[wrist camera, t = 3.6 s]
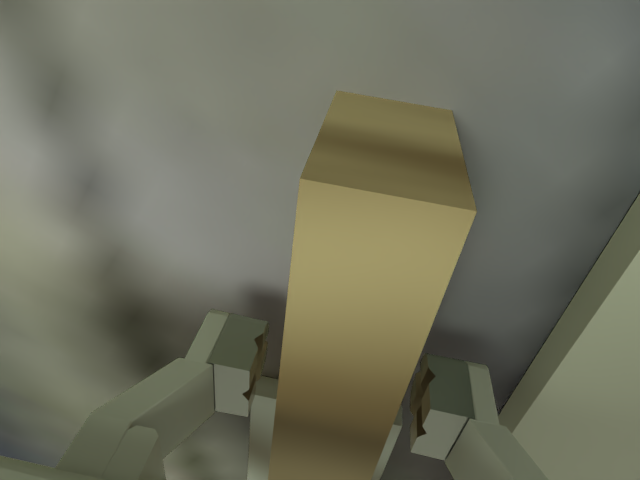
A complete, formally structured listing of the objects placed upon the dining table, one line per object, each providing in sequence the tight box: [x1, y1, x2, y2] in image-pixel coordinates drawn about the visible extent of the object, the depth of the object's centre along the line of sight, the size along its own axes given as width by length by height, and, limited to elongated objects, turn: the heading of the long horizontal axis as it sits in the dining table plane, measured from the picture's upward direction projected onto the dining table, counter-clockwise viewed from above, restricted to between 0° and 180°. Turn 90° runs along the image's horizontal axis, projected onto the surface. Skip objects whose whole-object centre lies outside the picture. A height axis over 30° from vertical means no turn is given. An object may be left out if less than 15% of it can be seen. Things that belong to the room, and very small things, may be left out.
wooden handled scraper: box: [247, 91, 477, 480], centre depth 13 cm, size 17×5×4 cm, turn 173°
